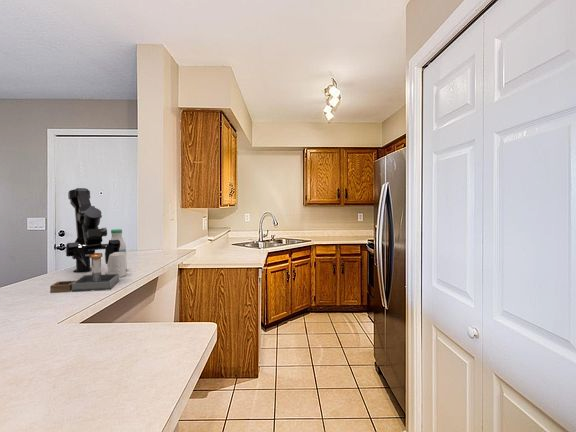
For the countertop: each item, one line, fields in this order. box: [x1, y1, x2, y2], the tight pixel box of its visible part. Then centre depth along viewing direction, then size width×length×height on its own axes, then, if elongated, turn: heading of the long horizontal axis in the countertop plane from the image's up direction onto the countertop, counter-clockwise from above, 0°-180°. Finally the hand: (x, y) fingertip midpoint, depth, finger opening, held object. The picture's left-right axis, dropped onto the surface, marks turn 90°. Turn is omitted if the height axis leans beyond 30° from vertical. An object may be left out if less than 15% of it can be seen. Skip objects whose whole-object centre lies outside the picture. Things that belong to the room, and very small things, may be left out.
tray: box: [71, 274, 120, 293], centre depth 131 cm, size 13×13×3 cm
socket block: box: [49, 280, 76, 294], centre depth 126 cm, size 6×6×2 cm
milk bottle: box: [110, 228, 128, 271], centre depth 155 cm, size 8×8×20 cm
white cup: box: [106, 252, 127, 278], centre depth 147 cm, size 8×8×10 cm
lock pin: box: [90, 252, 103, 282], centre depth 130 cm, size 4×4×12 cm
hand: (96, 264), depth 129 cm, fingers open, 7 cm apart
